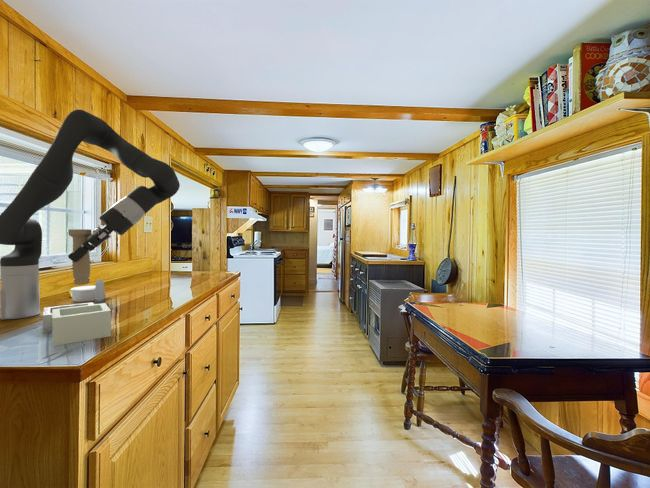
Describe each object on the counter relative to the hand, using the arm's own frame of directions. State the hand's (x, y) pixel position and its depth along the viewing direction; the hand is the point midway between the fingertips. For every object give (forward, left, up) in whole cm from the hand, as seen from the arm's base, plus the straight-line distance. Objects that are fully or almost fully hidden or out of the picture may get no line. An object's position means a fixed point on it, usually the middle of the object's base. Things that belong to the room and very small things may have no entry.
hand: (71, 259), depth 83 cm
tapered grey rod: (+9, +34, -21) cm, 41 cm away
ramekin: (+7, +56, -21) cm, 60 cm away
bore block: (0, +15, -21) cm, 26 cm away
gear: (+5, +68, -21) cm, 71 cm away
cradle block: (+2, 0, -21) cm, 21 cm away
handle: (+2, 0, -7) cm, 7 cm away
